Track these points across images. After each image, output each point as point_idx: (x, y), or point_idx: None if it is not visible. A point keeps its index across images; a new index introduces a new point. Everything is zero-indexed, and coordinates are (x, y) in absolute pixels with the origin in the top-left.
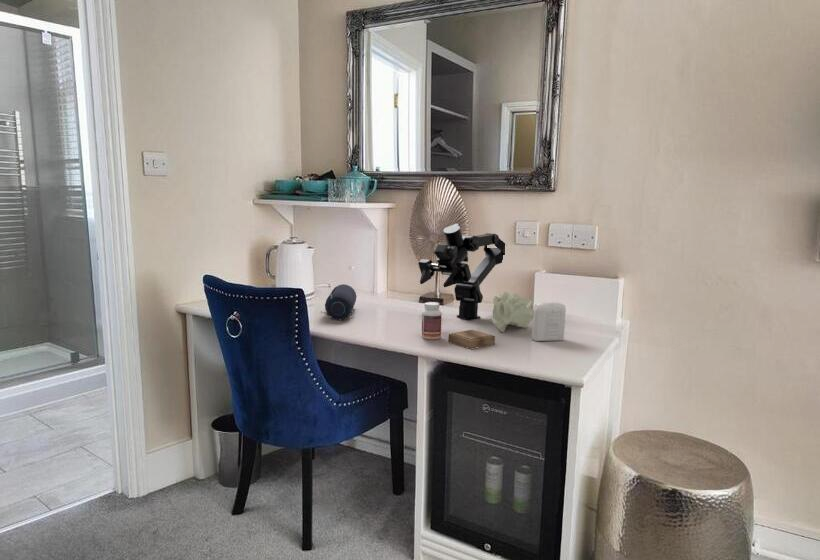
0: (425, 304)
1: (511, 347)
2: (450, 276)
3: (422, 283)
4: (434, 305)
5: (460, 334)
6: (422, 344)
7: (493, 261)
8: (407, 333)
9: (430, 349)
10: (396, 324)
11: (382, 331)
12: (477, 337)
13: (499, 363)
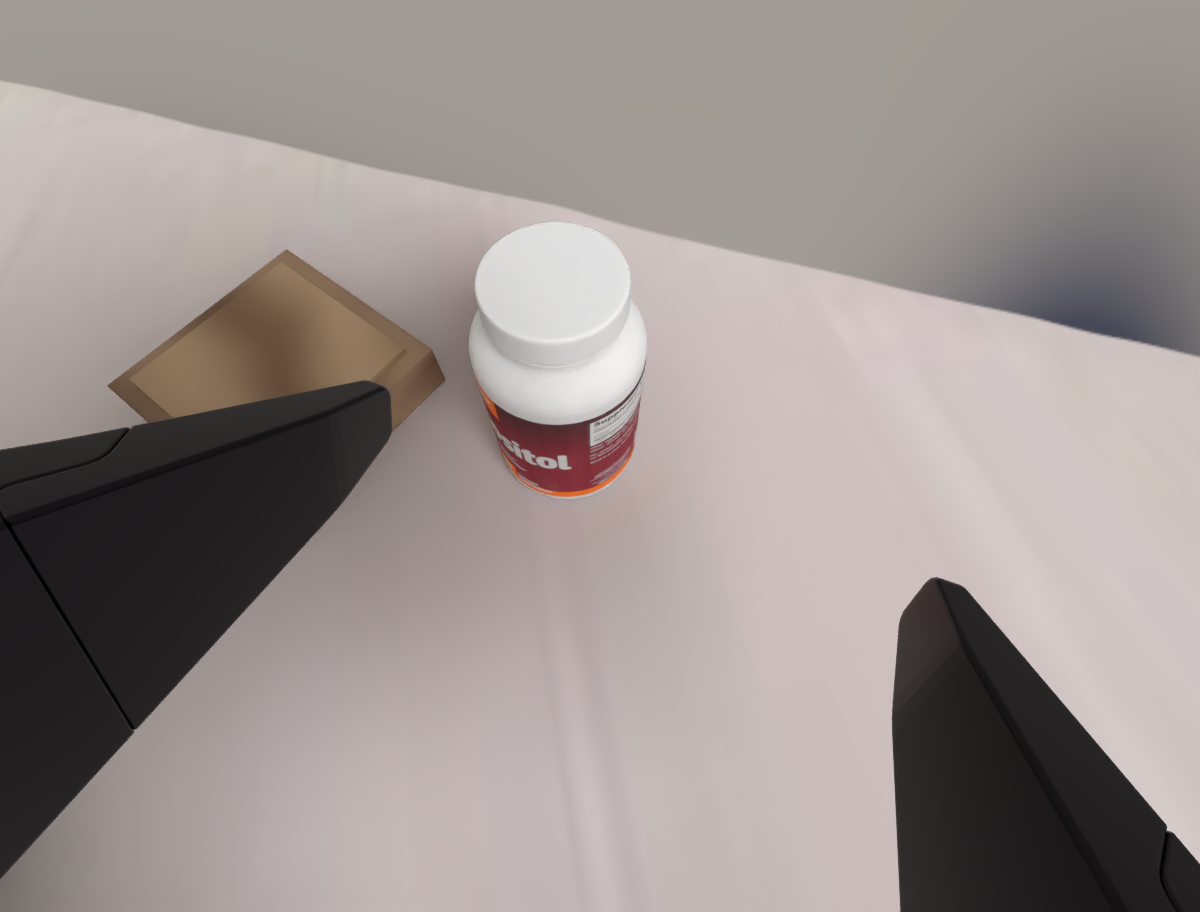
0: (610, 241)
1: (55, 378)
2: (111, 454)
3: (899, 652)
4: (515, 232)
5: (347, 333)
6: None
7: None
8: (756, 495)
9: None
10: None
11: (944, 492)
12: (238, 301)
13: (197, 142)
